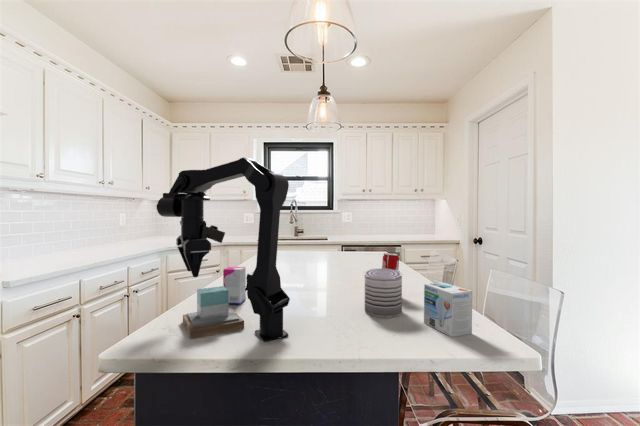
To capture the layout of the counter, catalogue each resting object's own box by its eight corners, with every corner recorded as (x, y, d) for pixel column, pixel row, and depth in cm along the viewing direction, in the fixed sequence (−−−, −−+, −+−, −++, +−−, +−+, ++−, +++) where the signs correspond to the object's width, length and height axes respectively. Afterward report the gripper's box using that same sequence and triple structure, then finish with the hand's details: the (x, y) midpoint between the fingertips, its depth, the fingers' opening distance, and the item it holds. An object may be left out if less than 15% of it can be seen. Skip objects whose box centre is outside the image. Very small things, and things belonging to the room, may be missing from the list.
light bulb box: (422, 323, 87) (423, 283, 87) (442, 320, 89) (442, 281, 89) (451, 337, 77) (452, 293, 77) (473, 334, 79) (473, 290, 79)
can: (408, 310, 98) (408, 271, 97) (391, 320, 89) (391, 277, 89) (375, 303, 105) (375, 266, 105) (356, 311, 96) (356, 272, 96)
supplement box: (246, 300, 109) (246, 266, 108) (240, 305, 103) (240, 269, 102) (229, 299, 109) (229, 266, 109) (222, 304, 103) (222, 269, 103)
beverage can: (377, 294, 116) (377, 252, 116) (393, 292, 118) (393, 252, 118) (385, 298, 110) (385, 255, 110) (402, 296, 112) (402, 254, 112)
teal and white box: (223, 311, 89) (223, 286, 89) (228, 316, 84) (228, 289, 84) (197, 315, 85) (197, 289, 85) (200, 321, 81) (200, 293, 81)
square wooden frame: (244, 328, 83) (244, 318, 82) (190, 338, 76) (190, 328, 76) (230, 314, 94) (230, 305, 94) (182, 322, 87) (182, 313, 87)
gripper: (231, 217, 84) (231, 277, 84) (214, 216, 100) (215, 266, 100) (185, 218, 78) (185, 282, 78) (176, 216, 94) (176, 269, 94)
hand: (192, 274), depth 88 cm, fingers open, 9 cm apart
